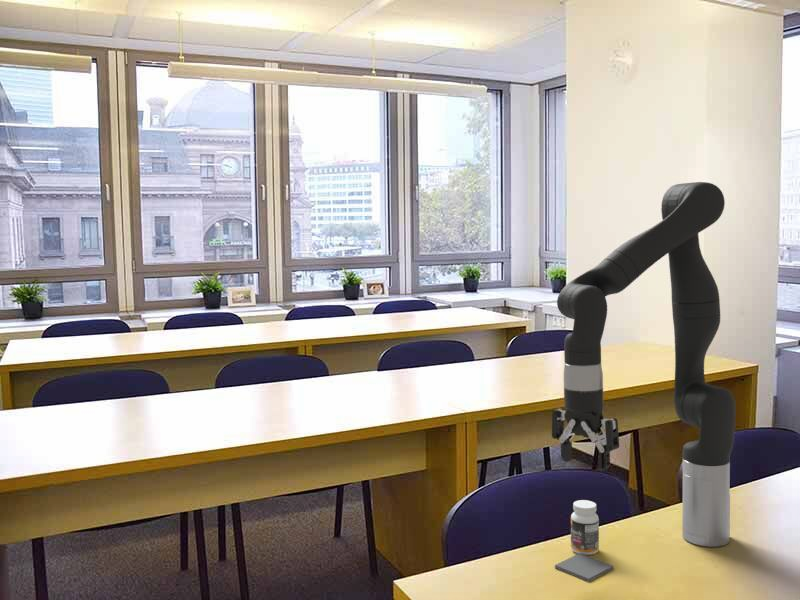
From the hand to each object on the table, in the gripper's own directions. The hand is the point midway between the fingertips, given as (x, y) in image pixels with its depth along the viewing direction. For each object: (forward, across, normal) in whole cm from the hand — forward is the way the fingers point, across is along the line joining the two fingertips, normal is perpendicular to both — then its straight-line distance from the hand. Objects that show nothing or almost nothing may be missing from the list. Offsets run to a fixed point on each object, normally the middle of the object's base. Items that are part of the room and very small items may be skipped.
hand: (585, 465), depth 148 cm
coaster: (+20, -2, +4) cm, 20 cm away
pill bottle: (+20, +3, -4) cm, 20 cm away
